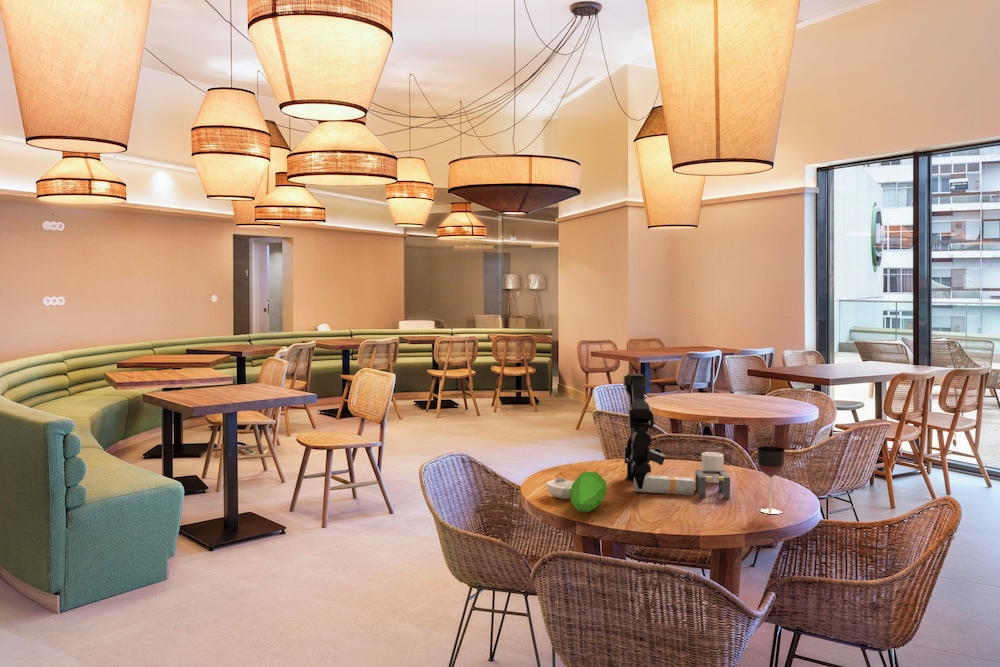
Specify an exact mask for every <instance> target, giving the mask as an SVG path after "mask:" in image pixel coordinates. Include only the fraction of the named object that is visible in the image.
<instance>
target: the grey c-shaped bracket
mask: <svg viewBox="0 0 1000 667" xmlns="http://www.w3.org/2000/svg"><path fill="white" fill-rule="evenodd" d="M694 472H695V473H694V476H695V478H694V479H695V480H694V491H695V492H698V498H699V499H706V491H707V490H706V485H707V484H706V483H707V482H706V480H712V477H711V476H705V475H704V474H719V476H717V480H719V483H718V492H721V493H722V498H723V500H731V477H730V476H729V474H728V473H727V471H726V470H725V469H723V470H702V469H695V470H694Z"/></svg>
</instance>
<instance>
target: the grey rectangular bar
mask: <svg viewBox="0 0 1000 667" xmlns="http://www.w3.org/2000/svg"><path fill="white" fill-rule="evenodd" d="M633 492H637V493H638V492H639V493H653V494H666V495H669V494H670V495H682V496H694V492H695V480H694V478H693V477H686V476H685V477H683V476H670V475H667V476H666V475H656V474H655V475H653V474H646V475H645V478H644V482H643V487H642V489H639V488H638V485H637V483H636V480H635V477H634V480H633Z"/></svg>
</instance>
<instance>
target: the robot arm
mask: <svg viewBox="0 0 1000 667" xmlns="http://www.w3.org/2000/svg"><path fill="white" fill-rule="evenodd" d="M647 386H648V376H647V375H644V374H643V373H627V374H626V375H624V376H623V387H625V390H624V391H625V393H626V394H627V395H628V397H629V410H628V423H629V431H630V432H629V433H630V434H629V438H628V439H627V441H626V443H625V446H624V451H623V461H624V464H626V481H634V477H635V480H636V483H637V485H638V488H639V489H642V487H643V482H644V478H645V475H648V473H649V474H650V473H652V467H651V464H650V462H653V463H656V464H658V465H660V466H663V465H664V462H665V459H666V455H665V454H664V453H662V450H661V448H659V447H655V448H654V449H651V447H650V446H651V445H652V444H651V443H652V437H651V435H650V433H649V429H653V426H655V421H654V419H655V418H654V413H653V411H652V410H650V404H649V403H648V402H647V401H646V400H645V389H646V387H647Z"/></svg>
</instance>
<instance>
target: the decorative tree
mask: <svg viewBox="0 0 1000 667" xmlns="http://www.w3.org/2000/svg"><path fill="white" fill-rule="evenodd" d="M606 496H607V481H606V480H605V479H604V478H603V477H602V476H601V474H600V473H598V472H597V471H583V472H582V473H581V474H580V475H579V476H578V477H577V478H576V479H575V480H574V481H573V484H572V485H571V498H570V499H571V500H570V502H571V504H572V505H573V507H574V508H576V510H577V511H579V512H591V511H594V510H596V508H597V507H598V506H600V505H601V504H602V503H603V502H604V499H605V498H606Z"/></svg>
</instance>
